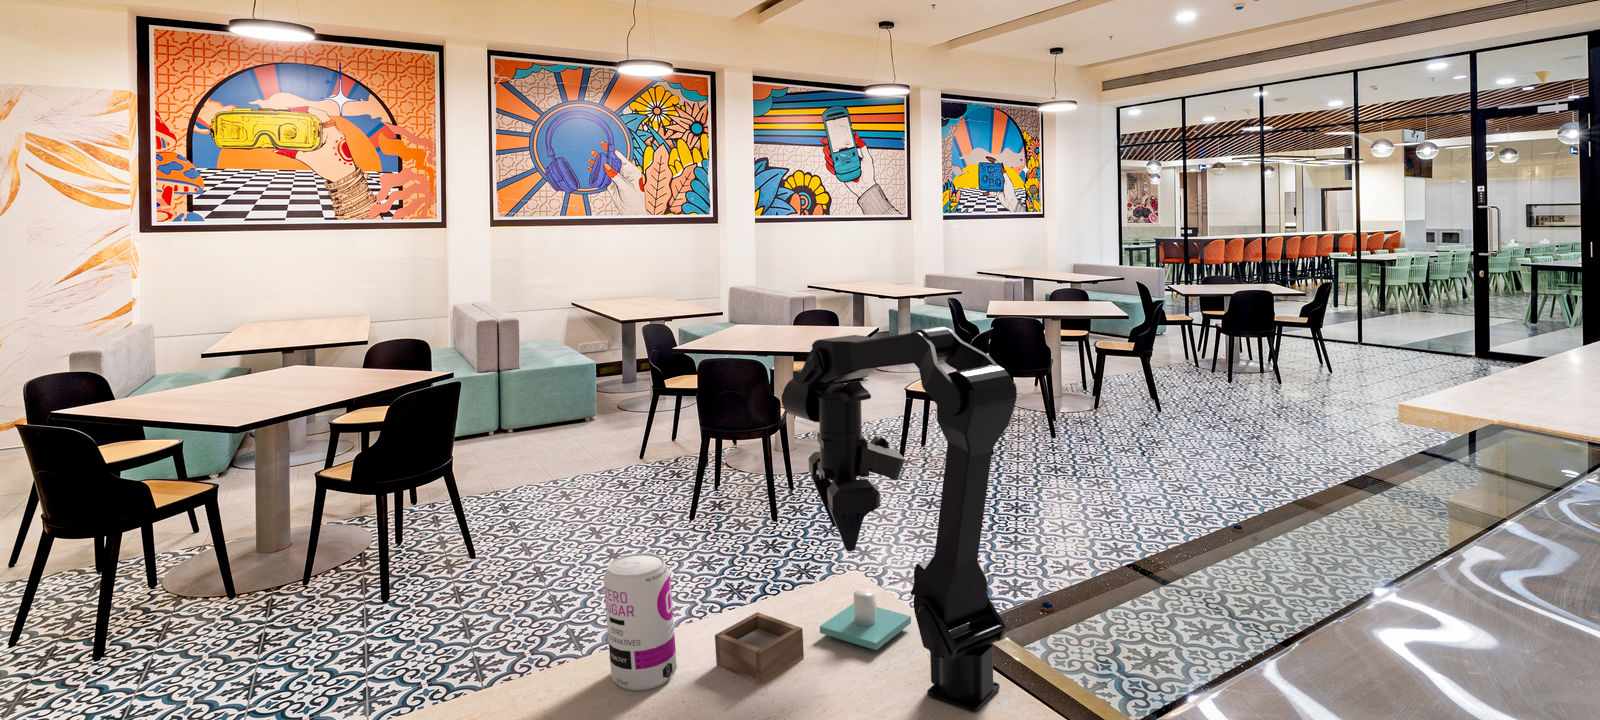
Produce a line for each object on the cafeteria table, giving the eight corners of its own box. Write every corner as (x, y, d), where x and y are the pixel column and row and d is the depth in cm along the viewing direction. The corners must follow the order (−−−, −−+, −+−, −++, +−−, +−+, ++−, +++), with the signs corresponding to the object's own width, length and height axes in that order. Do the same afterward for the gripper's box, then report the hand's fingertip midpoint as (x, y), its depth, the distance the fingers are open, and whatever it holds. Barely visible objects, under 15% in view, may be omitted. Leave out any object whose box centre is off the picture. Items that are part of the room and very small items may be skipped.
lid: (911, 629, 119) (910, 588, 118) (876, 657, 112) (875, 613, 111) (856, 614, 124) (855, 575, 123) (820, 639, 117) (818, 598, 116)
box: (803, 660, 112) (802, 628, 111) (762, 687, 106) (760, 653, 105) (759, 643, 117) (757, 612, 116) (716, 667, 111) (714, 635, 110)
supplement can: (683, 659, 113) (675, 551, 111) (667, 693, 105) (659, 577, 102) (623, 659, 114) (614, 551, 111) (603, 693, 106) (593, 577, 103)
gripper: (918, 442, 109) (919, 559, 111) (880, 409, 127) (882, 510, 129) (831, 448, 107) (834, 567, 110) (806, 414, 125) (809, 517, 128)
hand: (843, 538), depth 119 cm, fingers open, 9 cm apart
